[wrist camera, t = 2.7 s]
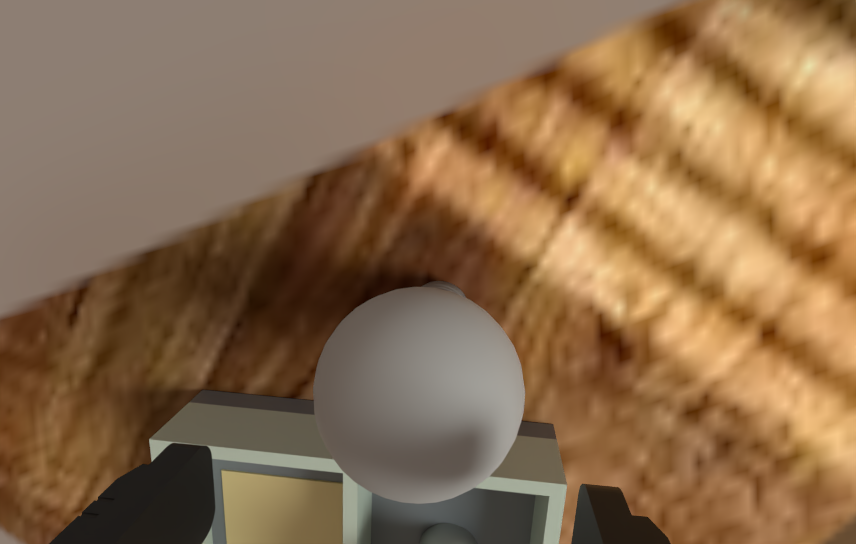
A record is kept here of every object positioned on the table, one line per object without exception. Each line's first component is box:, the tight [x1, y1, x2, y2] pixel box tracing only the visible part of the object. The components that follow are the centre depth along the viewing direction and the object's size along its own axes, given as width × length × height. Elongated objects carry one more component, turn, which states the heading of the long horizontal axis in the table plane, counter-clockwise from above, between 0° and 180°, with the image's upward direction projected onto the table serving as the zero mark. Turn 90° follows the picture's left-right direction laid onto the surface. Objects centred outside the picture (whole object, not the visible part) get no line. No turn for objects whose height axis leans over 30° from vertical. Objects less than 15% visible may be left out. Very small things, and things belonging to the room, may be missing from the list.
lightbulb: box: [313, 281, 525, 504], centre depth 17 cm, size 6×6×11 cm
